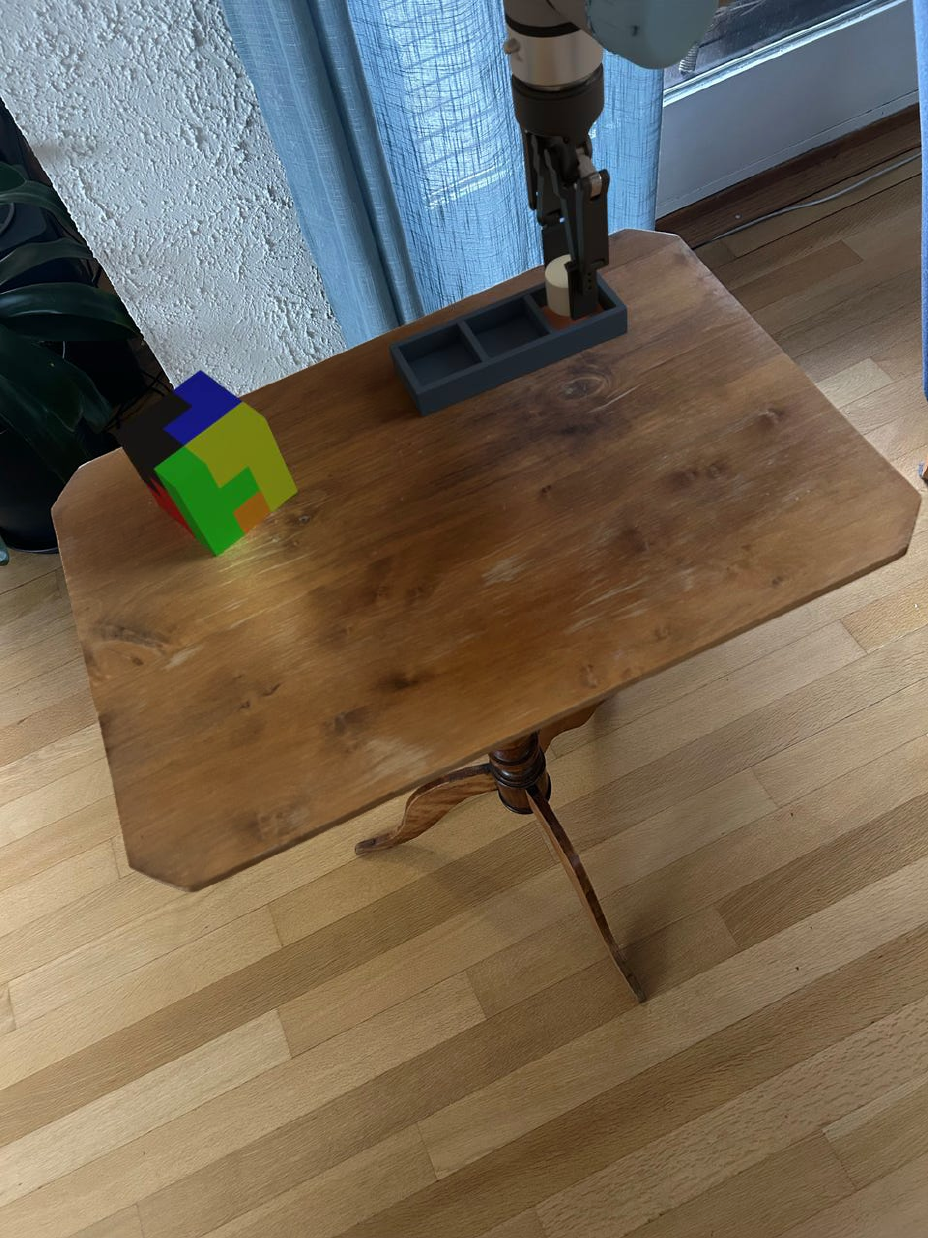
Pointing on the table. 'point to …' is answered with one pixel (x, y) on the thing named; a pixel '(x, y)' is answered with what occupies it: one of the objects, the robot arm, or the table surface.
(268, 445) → the puzzle toy
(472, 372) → the grid
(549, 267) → the cylinder
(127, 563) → the table surface
